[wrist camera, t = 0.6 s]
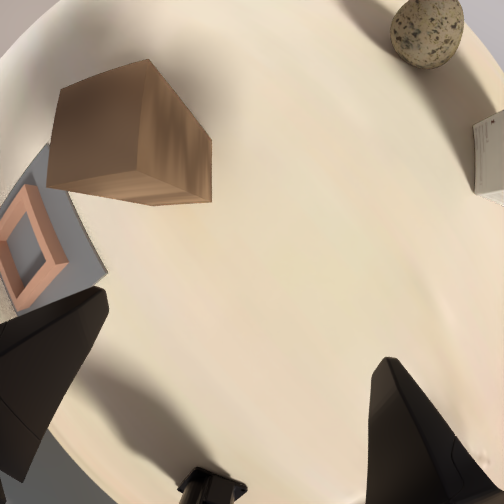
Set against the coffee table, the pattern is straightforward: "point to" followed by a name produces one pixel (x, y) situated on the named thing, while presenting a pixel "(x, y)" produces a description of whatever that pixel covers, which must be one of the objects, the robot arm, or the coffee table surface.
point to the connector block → (129, 140)
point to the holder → (43, 243)
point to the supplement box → (490, 158)
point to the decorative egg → (427, 31)
